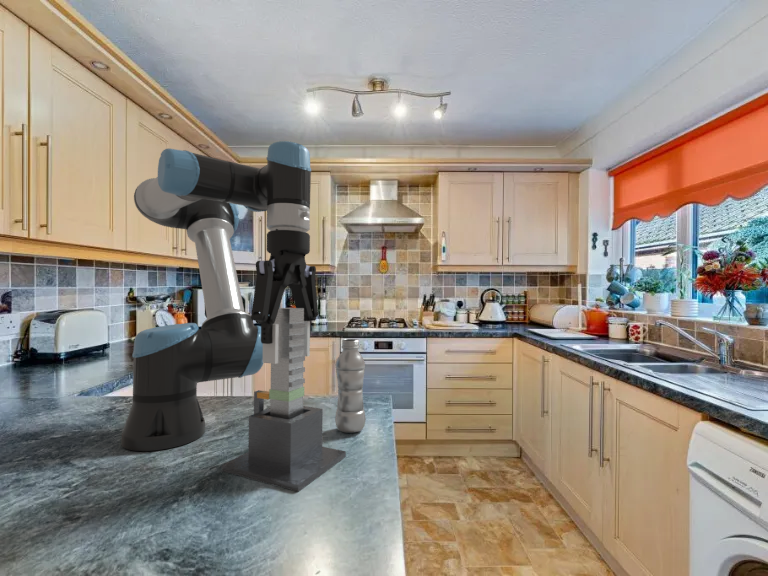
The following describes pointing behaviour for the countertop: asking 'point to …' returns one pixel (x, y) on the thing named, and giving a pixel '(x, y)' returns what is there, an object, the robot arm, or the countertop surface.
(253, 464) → the stand
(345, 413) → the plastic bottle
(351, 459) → the countertop surface
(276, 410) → the column
